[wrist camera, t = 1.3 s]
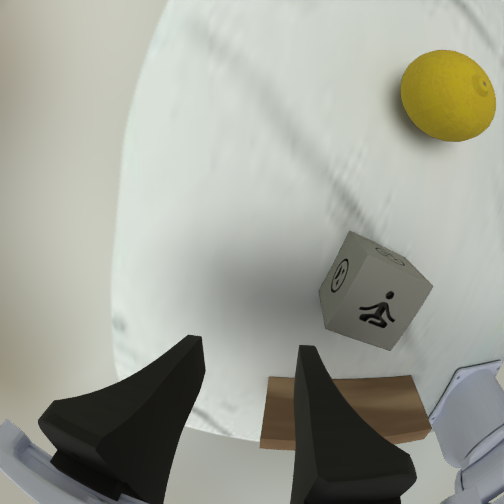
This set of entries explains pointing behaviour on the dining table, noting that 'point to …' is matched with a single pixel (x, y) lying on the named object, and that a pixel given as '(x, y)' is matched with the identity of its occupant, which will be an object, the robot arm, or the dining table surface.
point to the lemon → (448, 96)
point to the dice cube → (371, 293)
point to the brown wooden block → (361, 400)
